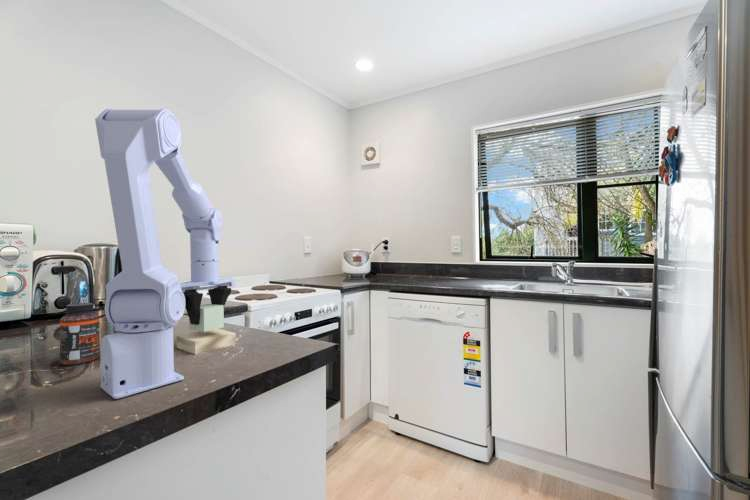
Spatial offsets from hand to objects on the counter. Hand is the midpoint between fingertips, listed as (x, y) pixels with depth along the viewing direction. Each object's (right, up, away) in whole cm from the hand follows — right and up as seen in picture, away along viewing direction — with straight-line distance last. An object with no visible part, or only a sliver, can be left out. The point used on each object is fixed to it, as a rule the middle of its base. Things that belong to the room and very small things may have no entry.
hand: (206, 321), depth 77 cm
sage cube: (0, -2, 0) cm, 2 cm away
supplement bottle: (-20, -6, -9) cm, 23 cm away
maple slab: (0, -6, 0) cm, 6 cm away
